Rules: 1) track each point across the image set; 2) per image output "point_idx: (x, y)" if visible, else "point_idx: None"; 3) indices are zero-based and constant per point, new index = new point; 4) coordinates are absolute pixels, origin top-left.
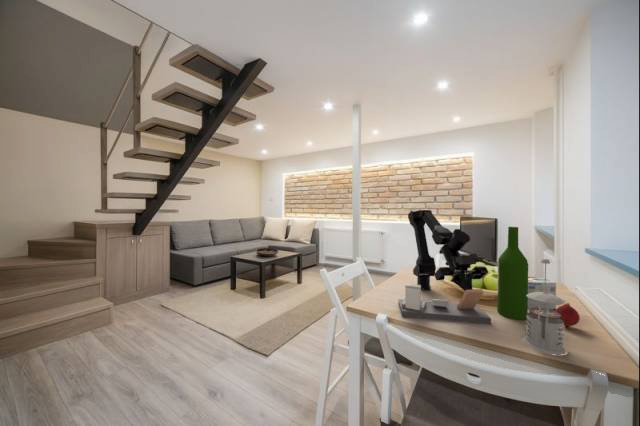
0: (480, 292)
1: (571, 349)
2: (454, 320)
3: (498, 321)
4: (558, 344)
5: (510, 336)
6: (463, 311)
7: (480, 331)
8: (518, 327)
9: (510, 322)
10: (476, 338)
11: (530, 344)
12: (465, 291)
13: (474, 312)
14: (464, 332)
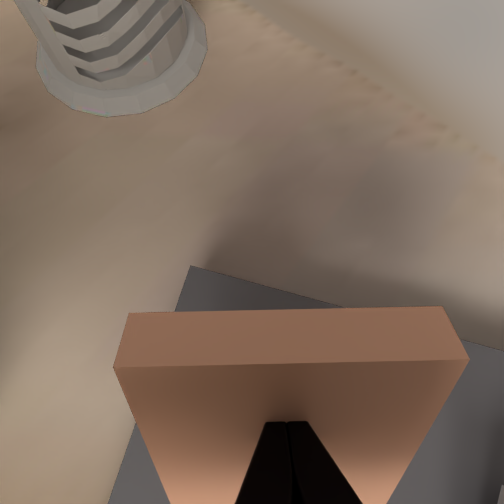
0: (192, 319)
1: None
2: None
3: (102, 317)
4: (66, 9)
5: (208, 128)
6: None
7: (347, 190)
8: (48, 222)
9: (26, 295)
10: (423, 121)
11: (194, 34)
12: (451, 376)
13: None
14: (458, 184)
